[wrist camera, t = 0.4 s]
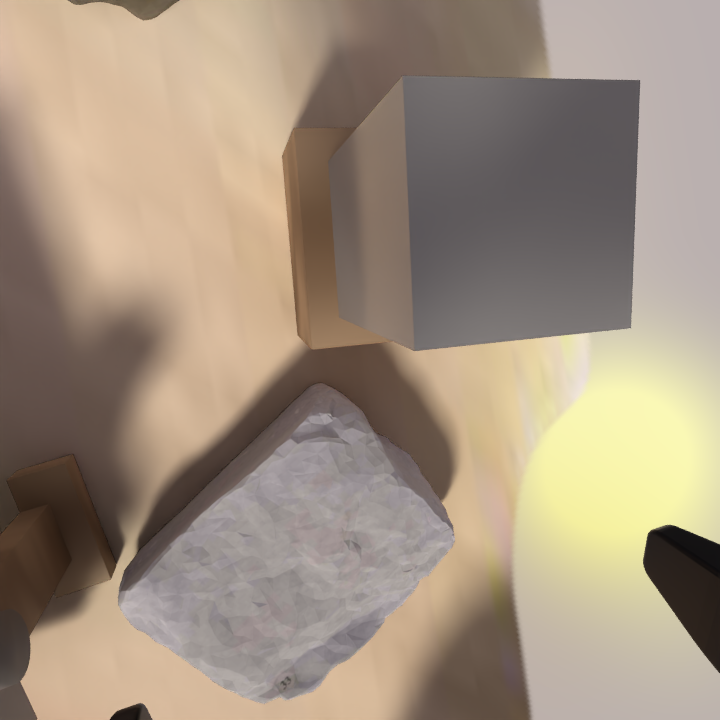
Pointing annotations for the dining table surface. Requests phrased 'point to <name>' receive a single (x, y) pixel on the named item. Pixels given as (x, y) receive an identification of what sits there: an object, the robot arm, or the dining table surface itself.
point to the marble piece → (137, 6)
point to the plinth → (316, 239)
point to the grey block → (488, 210)
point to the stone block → (290, 553)
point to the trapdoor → (15, 704)
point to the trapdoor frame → (45, 554)
